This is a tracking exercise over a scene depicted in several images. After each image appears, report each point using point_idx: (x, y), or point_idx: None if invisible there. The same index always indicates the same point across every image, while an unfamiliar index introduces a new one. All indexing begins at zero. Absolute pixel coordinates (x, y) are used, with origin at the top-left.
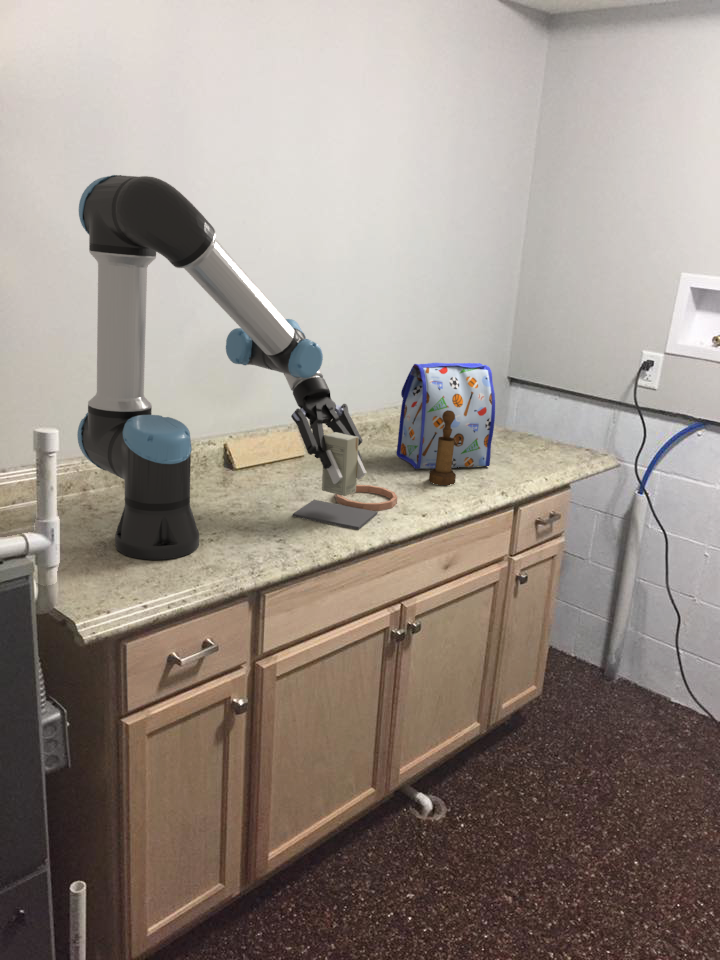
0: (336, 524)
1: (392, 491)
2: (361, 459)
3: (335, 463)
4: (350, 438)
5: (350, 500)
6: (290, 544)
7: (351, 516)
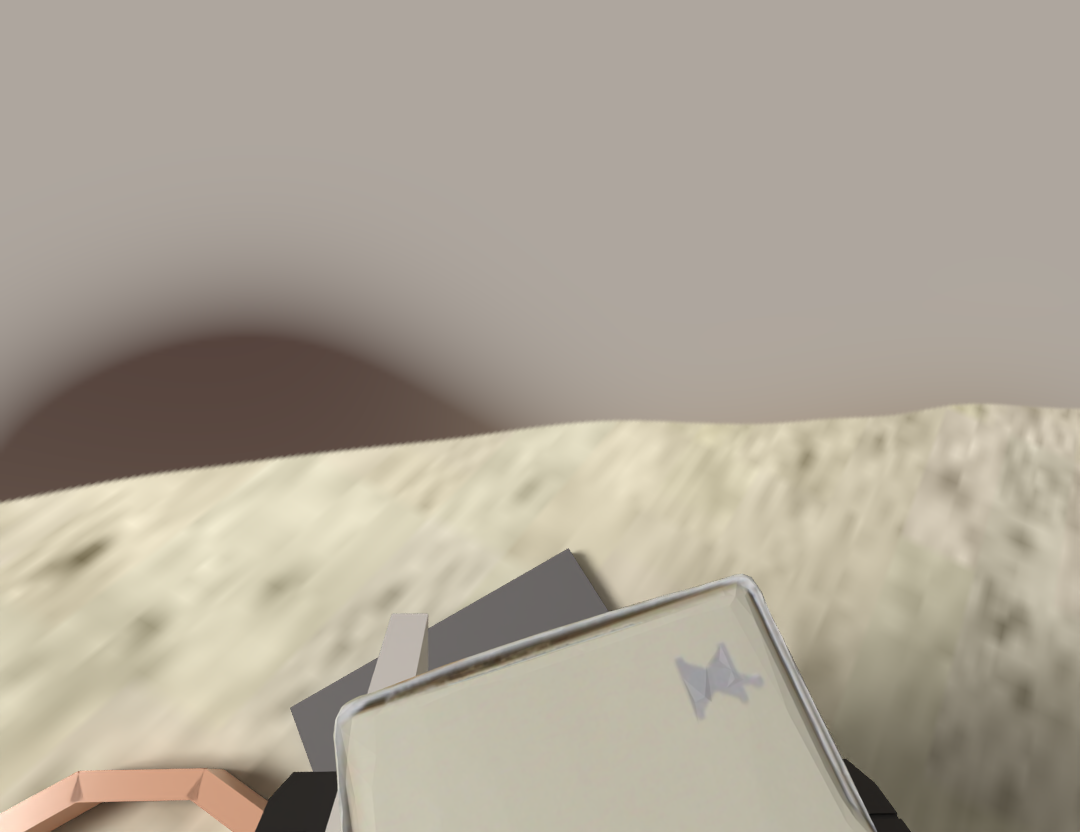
0: None
1: None
2: (296, 782)
3: None
4: (628, 640)
5: None
6: (965, 559)
7: None
